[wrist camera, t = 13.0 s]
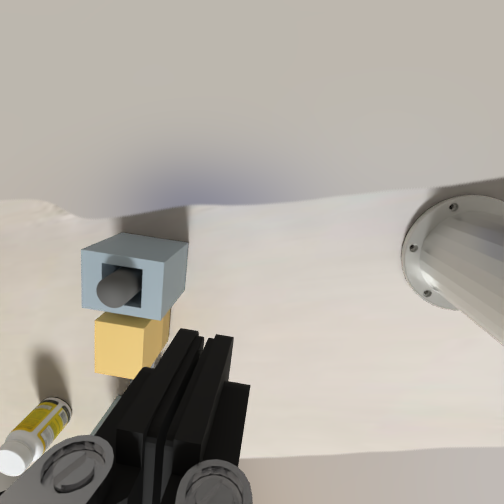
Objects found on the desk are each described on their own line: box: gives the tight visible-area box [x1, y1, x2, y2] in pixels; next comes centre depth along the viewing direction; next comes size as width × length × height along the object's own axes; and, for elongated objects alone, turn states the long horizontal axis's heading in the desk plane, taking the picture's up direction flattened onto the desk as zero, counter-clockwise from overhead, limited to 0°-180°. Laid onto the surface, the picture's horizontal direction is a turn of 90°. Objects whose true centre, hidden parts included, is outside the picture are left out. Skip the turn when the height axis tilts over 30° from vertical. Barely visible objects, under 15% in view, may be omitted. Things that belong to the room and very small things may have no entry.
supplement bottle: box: [0, 397, 71, 476], centre depth 42 cm, size 5×5×8 cm
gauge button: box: [96, 266, 143, 308], centre depth 31 cm, size 3×3×4 cm
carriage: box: [95, 309, 170, 379], centre depth 36 cm, size 5×6×8 cm
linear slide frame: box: [81, 233, 188, 436], centre depth 37 cm, size 8×29×9 cm, turn 172°
